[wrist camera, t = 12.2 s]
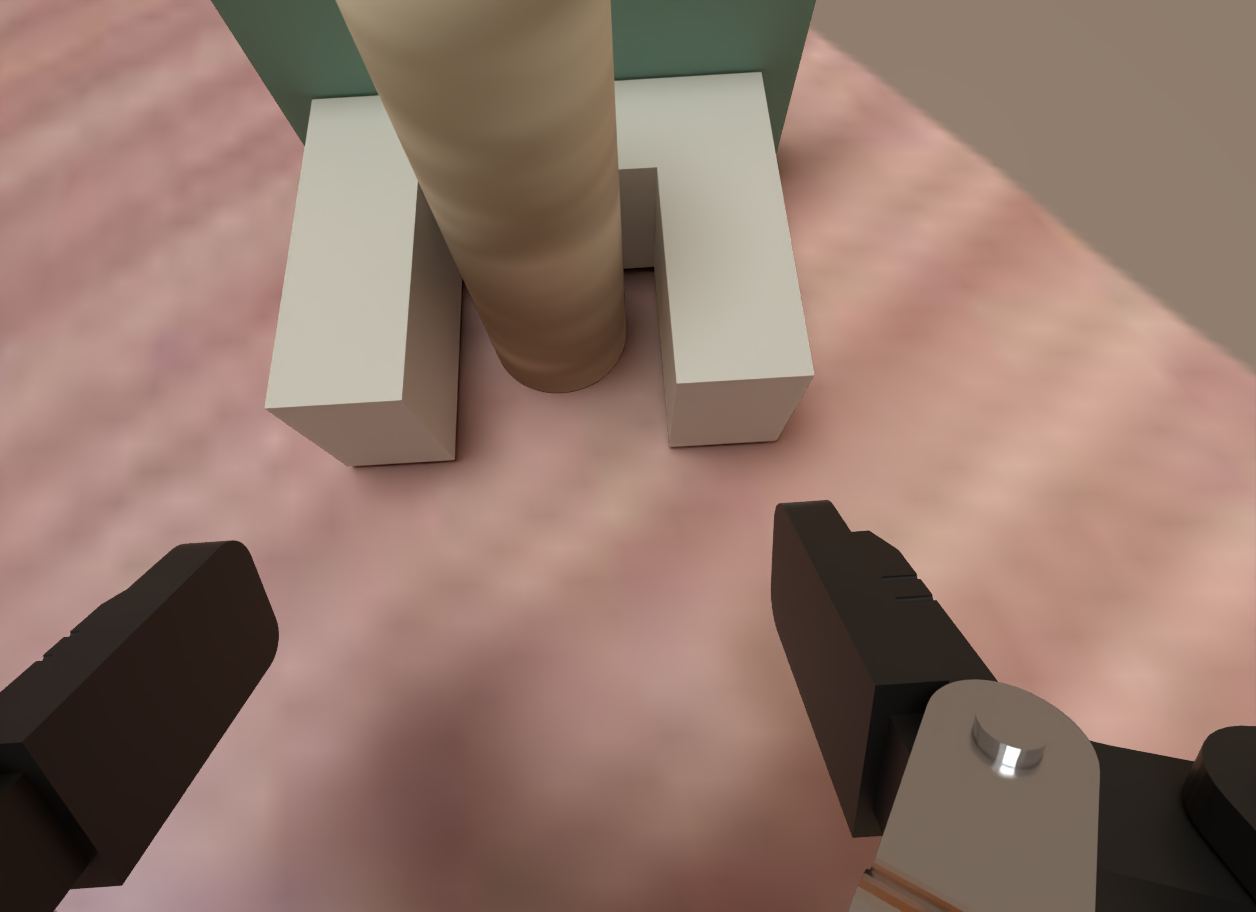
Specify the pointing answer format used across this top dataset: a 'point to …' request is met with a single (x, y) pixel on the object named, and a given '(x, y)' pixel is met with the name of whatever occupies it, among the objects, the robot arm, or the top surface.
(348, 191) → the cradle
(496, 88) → the dowel
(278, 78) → the wall
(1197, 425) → the top surface
